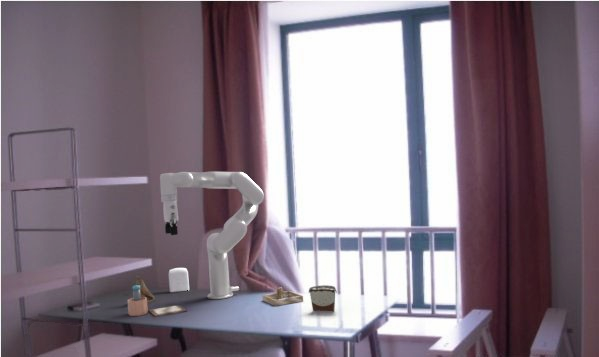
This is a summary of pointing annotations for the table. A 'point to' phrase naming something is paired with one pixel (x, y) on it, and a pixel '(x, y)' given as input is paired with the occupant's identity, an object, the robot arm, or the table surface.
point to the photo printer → (178, 279)
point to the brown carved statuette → (144, 290)
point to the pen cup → (137, 307)
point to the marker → (136, 293)
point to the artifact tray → (294, 298)
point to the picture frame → (167, 310)
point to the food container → (323, 298)
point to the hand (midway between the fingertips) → (171, 234)
